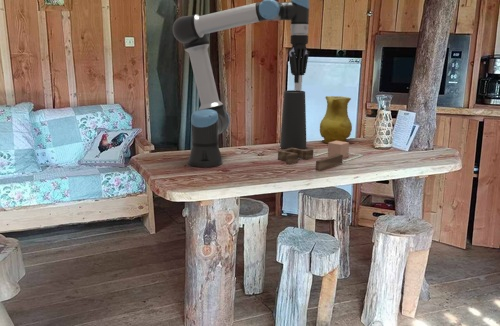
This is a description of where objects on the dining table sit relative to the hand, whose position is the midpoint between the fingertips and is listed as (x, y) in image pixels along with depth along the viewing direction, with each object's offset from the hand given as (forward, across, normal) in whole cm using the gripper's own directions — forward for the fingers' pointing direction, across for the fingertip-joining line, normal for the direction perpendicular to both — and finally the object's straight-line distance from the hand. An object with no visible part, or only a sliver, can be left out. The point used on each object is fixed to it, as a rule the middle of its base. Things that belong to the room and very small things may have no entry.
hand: (297, 90), depth 214 cm
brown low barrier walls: (+32, +3, -4) cm, 33 cm away
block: (+33, +22, -8) cm, 40 cm away
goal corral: (+32, +23, -8) cm, 41 cm away
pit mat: (+32, +3, +4) cm, 33 cm away
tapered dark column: (+33, +24, +20) cm, 45 cm away
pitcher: (+33, +52, +12) cm, 63 cm away
